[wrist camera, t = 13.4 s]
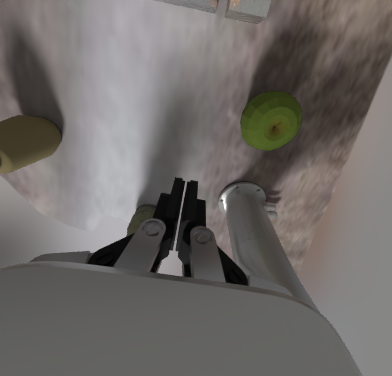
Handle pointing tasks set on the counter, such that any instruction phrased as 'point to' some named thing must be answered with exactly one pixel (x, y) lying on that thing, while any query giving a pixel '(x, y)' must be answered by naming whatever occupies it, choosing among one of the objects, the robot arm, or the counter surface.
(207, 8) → the arm
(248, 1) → the base
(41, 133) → the squeeze bottle
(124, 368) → the robot arm
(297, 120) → the apple
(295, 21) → the counter surface
